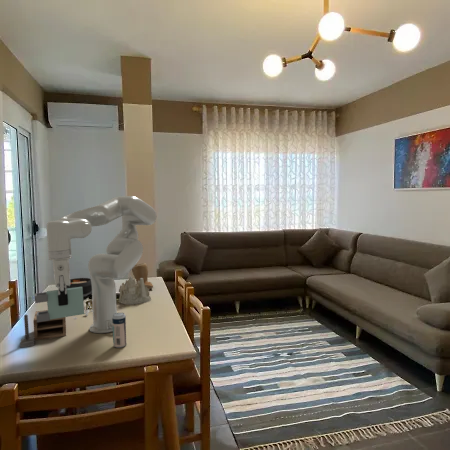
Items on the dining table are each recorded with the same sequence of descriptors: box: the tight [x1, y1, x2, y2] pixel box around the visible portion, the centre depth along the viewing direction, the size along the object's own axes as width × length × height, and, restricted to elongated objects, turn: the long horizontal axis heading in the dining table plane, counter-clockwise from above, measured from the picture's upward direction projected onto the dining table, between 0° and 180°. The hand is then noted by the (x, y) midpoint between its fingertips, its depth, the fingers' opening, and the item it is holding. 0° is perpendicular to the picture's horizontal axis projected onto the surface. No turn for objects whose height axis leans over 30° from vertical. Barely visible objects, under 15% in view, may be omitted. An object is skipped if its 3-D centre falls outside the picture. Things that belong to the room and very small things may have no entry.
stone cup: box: [131, 262, 154, 290], centre depth 217 cm, size 15×12×15 cm
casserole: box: [66, 277, 92, 298], centre depth 203 cm, size 25×19×8 cm
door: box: [34, 287, 85, 322], centre depth 131 cm, size 4×16×10 cm, turn 114°
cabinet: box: [19, 309, 67, 348], centre depth 143 cm, size 17×16×12 cm
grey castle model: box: [118, 275, 152, 305], centre depth 192 cm, size 16×16×15 cm
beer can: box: [112, 312, 127, 349], centre depth 133 cm, size 5×5×12 cm
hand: (63, 303), depth 131 cm, fingers closed on door, 2 cm apart
